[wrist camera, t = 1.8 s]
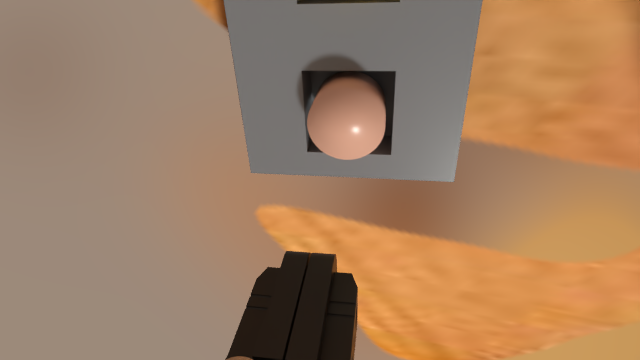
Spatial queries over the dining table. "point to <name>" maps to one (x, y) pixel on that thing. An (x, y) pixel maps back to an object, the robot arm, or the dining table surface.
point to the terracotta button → (348, 115)
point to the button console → (361, 56)
